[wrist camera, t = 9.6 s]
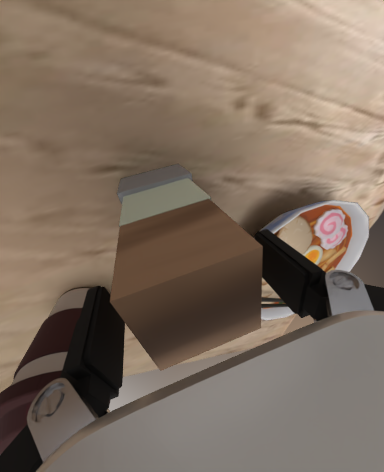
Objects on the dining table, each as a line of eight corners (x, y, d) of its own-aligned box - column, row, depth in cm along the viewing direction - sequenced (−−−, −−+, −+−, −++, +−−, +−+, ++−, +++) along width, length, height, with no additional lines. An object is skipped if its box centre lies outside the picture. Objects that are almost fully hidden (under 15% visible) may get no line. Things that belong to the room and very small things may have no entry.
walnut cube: (120, 226, 11) (109, 301, 6) (208, 198, 12) (262, 246, 7) (150, 288, 14) (160, 370, 9) (219, 263, 15) (260, 328, 10)
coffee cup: (38, 282, 24) (-62, 442, 12) (117, 276, 27) (103, 398, 15) (54, 328, 29) (-6, 477, 16) (120, 319, 32) (111, 439, 19)
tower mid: (123, 196, 16) (119, 225, 11) (187, 177, 17) (210, 196, 12) (146, 249, 20) (151, 289, 15) (199, 231, 20) (221, 264, 15)
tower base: (120, 178, 21) (116, 193, 16) (177, 163, 22) (191, 173, 17) (141, 228, 25) (143, 253, 20) (189, 214, 26) (202, 234, 21)
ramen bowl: (351, 207, 34) (404, 225, 28) (285, 293, 43) (313, 323, 36) (253, 160, 24) (300, 172, 17) (193, 286, 33) (209, 325, 26)
